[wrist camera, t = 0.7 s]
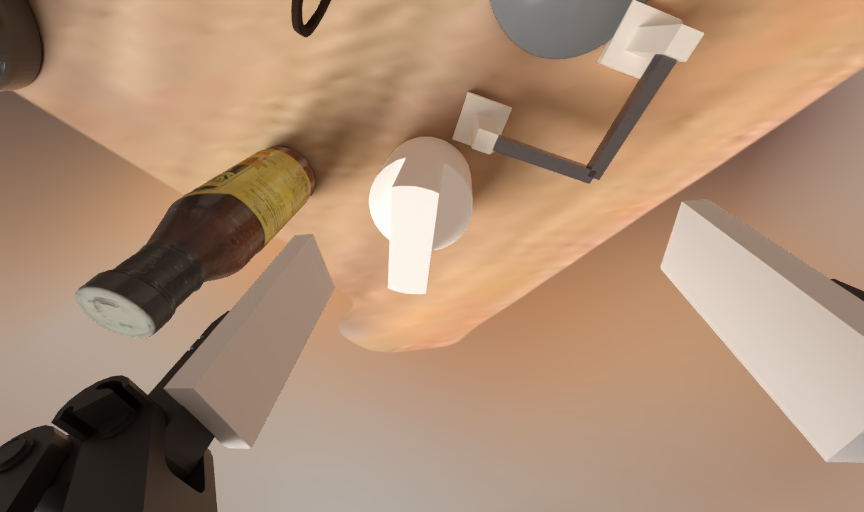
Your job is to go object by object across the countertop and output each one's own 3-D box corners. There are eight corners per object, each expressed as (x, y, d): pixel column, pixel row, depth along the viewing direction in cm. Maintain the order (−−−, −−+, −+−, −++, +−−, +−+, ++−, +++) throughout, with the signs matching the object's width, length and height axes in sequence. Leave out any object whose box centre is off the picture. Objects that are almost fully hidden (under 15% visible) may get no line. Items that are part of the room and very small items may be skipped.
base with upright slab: (384, 130, 29) (344, 176, 19) (479, 143, 29) (487, 196, 19) (382, 215, 34) (350, 285, 25) (463, 226, 34) (463, 301, 25)
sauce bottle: (273, 129, 30) (51, 236, 14) (329, 172, 32) (192, 310, 16) (247, 177, 33) (40, 310, 17) (300, 214, 35) (159, 364, 19)
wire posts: (465, 164, 30) (465, 190, 25) (438, 107, 28) (432, 123, 22) (680, 60, 24) (741, 67, 19) (673, -25, 22) (741, -45, 16)
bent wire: (481, 143, 24) (481, 146, 24) (540, -10, 19) (544, -12, 18) (590, 180, 25) (595, 185, 25) (677, 45, 20) (686, 46, 19)
